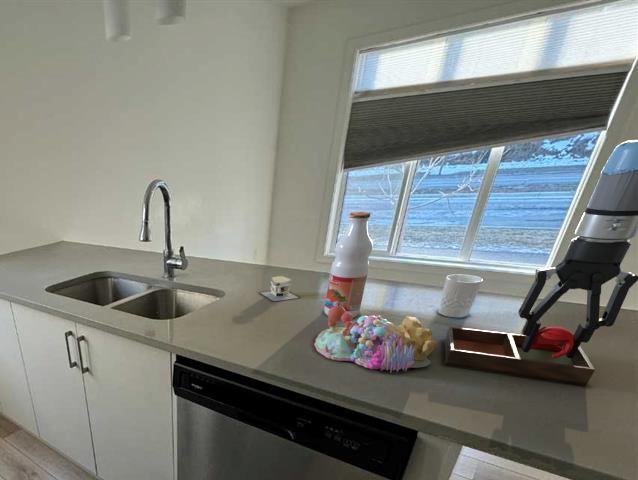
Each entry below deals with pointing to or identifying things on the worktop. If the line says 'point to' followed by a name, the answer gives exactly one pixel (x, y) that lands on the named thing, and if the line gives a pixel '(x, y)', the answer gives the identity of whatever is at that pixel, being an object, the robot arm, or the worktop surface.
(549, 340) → the red curved piece
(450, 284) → the white cup
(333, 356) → the candy landscape model
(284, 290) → the stacked layers on plate
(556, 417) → the worktop surface
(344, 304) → the fruit juice
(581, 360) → the sorting tray
